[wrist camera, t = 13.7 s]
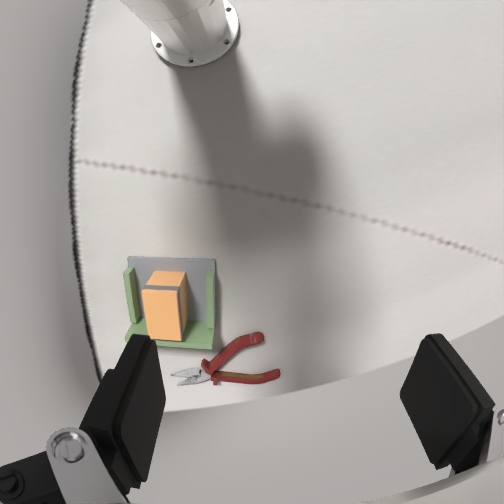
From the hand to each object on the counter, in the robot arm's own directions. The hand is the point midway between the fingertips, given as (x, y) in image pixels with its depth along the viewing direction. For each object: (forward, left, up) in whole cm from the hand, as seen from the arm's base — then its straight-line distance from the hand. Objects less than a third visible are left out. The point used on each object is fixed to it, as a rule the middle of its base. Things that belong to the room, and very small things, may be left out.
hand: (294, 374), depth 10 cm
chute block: (+17, -13, -36) cm, 41 cm away
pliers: (+31, -5, -37) cm, 49 cm away
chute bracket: (+17, -13, -36) cm, 42 cm away
